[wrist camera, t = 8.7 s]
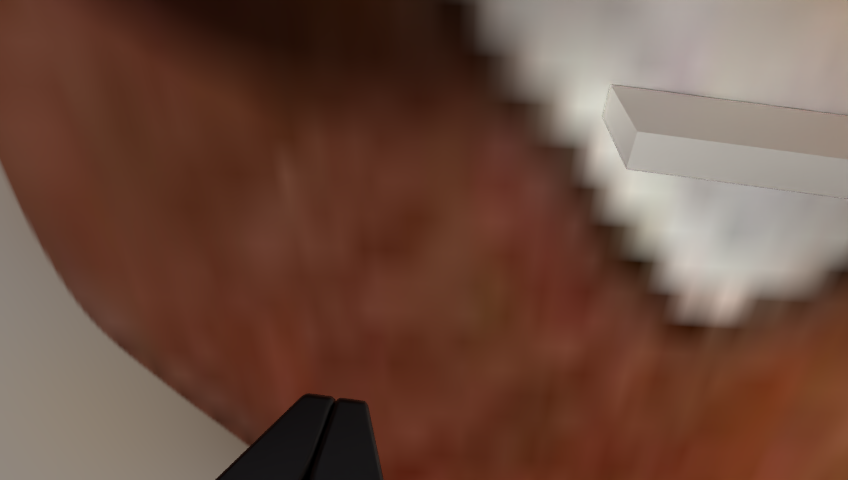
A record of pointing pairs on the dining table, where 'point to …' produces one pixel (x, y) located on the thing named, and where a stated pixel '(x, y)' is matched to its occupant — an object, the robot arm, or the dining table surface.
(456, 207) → the dining table surface
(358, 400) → the robot arm
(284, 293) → the dining table surface
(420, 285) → the dining table surface
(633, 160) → the plug guide
